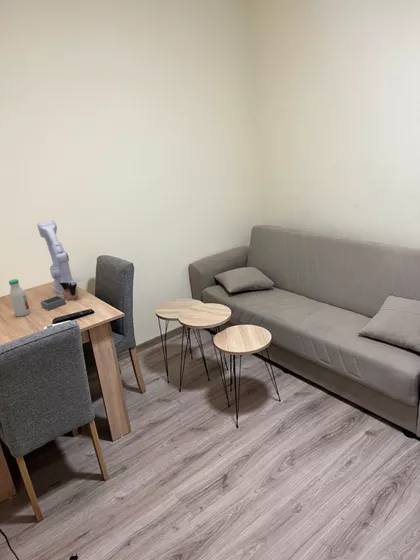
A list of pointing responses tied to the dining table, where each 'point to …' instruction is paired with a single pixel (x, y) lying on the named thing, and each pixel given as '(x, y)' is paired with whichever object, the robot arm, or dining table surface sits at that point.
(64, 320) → the dining table surface
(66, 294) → the small crate
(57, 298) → the large crate
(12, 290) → the milk bottle
